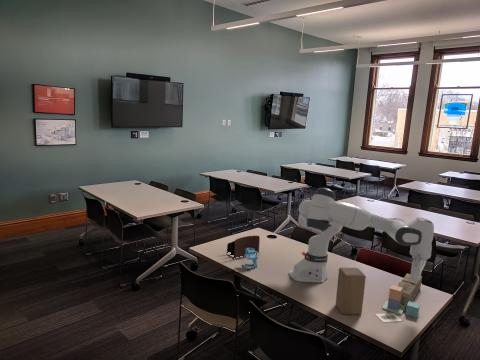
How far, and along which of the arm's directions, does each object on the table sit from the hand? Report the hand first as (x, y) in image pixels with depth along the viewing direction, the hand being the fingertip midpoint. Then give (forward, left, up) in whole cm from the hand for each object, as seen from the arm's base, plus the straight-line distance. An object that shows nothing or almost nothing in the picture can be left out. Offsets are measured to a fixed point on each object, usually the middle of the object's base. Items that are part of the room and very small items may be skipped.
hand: (416, 279), depth 172 cm
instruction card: (-14, -2, -18) cm, 23 cm away
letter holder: (-67, +83, -18) cm, 109 cm away
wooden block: (-30, +7, -18) cm, 36 cm away
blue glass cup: (-67, +62, -18) cm, 93 cm away
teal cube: (0, 0, -18) cm, 18 cm away
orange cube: (-6, +6, -12) cm, 15 cm away
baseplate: (-6, +6, -18) cm, 20 cm away
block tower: (+10, +18, -18) cm, 28 cm away
